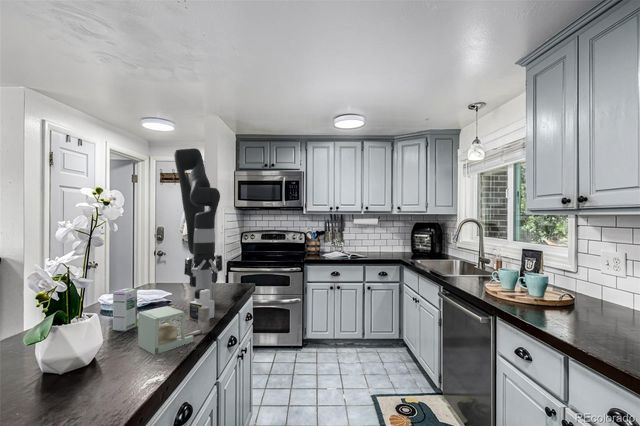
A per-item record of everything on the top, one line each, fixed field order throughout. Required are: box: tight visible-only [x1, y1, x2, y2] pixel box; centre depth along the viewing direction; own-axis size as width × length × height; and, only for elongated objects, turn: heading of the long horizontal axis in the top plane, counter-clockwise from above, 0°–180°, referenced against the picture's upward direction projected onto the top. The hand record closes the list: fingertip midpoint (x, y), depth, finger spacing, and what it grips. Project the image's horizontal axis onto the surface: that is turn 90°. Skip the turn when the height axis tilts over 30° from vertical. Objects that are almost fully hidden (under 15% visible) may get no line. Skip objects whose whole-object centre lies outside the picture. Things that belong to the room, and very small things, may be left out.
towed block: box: [158, 306, 210, 346], centre depth 112 cm, size 19×6×9 cm, turn 143°
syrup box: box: [112, 288, 138, 332], centre depth 122 cm, size 6×6×14 cm
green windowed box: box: [137, 305, 195, 356], centre depth 107 cm, size 13×11×11 cm
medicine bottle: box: [189, 289, 215, 322], centre depth 135 cm, size 7×7×12 cm
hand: (203, 284), depth 119 cm, fingers open, 8 cm apart
